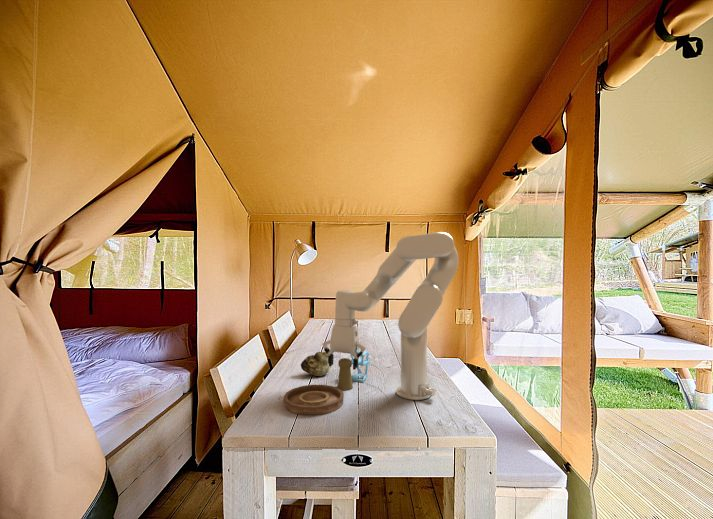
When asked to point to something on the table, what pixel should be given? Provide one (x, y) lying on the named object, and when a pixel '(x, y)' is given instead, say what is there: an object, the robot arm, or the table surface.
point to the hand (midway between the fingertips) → (342, 367)
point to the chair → (361, 363)
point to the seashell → (316, 364)
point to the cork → (345, 375)
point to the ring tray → (313, 399)
